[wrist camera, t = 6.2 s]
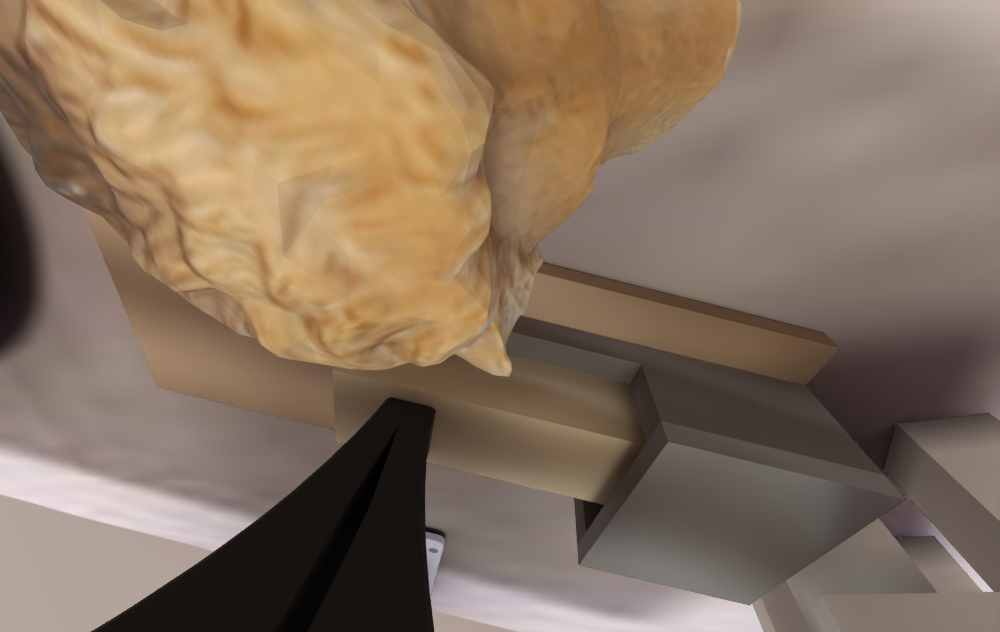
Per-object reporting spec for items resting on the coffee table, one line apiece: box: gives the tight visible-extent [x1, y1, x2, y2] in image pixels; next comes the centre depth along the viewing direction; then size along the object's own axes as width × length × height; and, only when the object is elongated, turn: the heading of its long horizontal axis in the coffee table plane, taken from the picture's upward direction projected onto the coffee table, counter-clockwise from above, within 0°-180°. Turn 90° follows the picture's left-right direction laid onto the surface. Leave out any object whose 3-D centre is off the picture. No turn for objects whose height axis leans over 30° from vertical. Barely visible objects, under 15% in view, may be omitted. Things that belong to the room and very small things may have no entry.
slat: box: [333, 354, 646, 505], centre depth 12 cm, size 3×12×2 cm, turn 78°
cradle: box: [83, 207, 906, 605], centre depth 11 cm, size 9×22×4 cm, turn 78°
